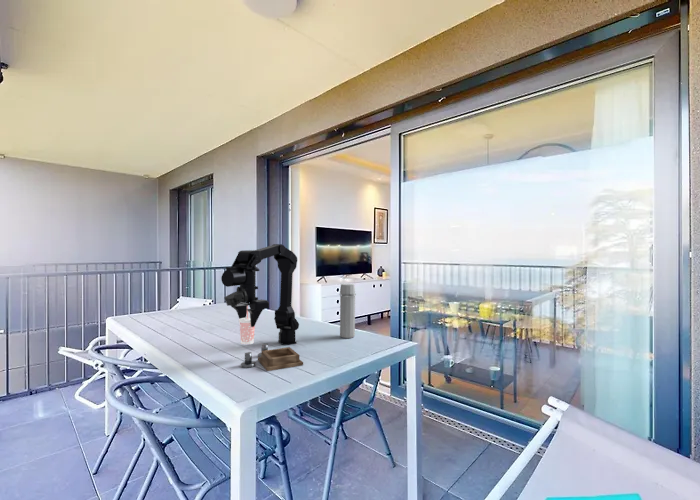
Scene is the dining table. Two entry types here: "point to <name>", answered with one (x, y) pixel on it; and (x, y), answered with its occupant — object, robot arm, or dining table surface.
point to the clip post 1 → (248, 361)
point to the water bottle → (347, 310)
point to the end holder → (279, 359)
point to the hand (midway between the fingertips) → (247, 325)
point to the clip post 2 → (263, 348)
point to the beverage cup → (246, 330)
